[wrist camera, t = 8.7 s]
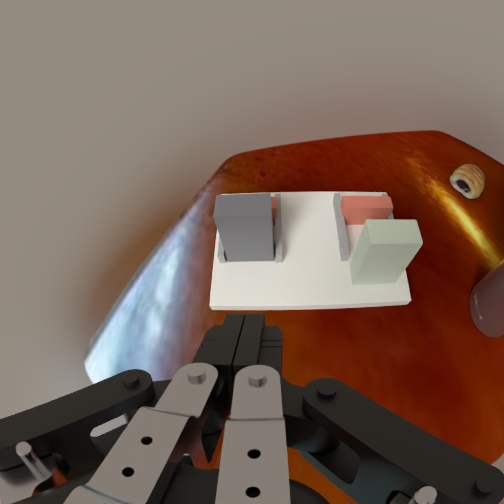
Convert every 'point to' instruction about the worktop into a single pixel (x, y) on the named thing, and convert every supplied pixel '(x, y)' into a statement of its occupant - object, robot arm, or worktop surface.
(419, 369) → the worktop surface
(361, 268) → the pale green tall block
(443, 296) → the worktop surface
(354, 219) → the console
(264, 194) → the grey upright block
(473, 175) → the pastry
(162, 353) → the worktop surface
